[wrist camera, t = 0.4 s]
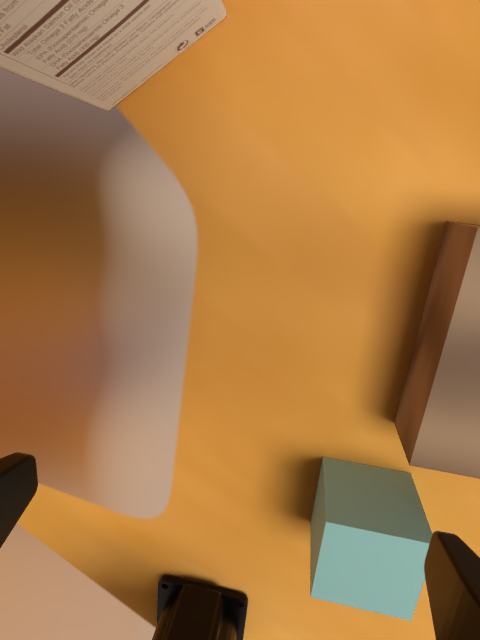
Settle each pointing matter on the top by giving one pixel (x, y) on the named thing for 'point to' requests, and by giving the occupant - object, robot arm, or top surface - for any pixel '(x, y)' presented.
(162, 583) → the robot arm
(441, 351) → the walnut block
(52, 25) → the supplement box
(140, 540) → the top surface
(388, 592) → the teal cube
